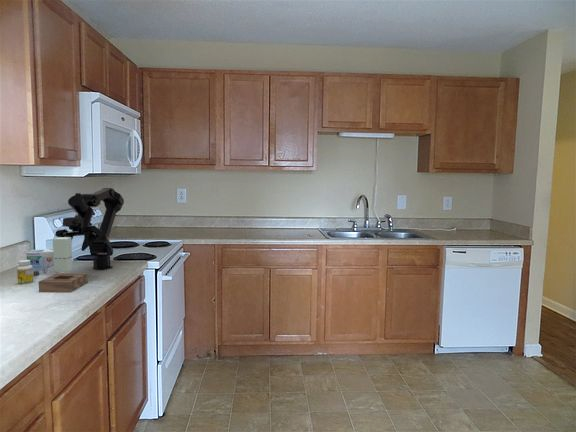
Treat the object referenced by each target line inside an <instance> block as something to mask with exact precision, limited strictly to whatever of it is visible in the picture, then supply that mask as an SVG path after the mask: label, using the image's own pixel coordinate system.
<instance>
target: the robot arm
mask: <svg viewBox="0 0 576 432" xmlns="http://www.w3.org/2000/svg"><path fill="white" fill-rule="evenodd" d="M101 202H103V204H104V207H105V212H104V213H103V218H102V221H101V224H100V226H99V227H97V226H96V225H93V223H92V222H91V221H92V217H93V216H96V213H95V211H94V209H93V208H96V207H99V206H100V205H101ZM124 203H125V198H123V196H122V194H121V193H118V191H116V190H115V188H112V187H103V188H101V189H100V190H97V191H95V192H93V193H80V192H78V193H77V192H76V193H75V194H74V195H73V196H71V197H70V198H69V199H68V200H67V204H68V205H69V207H70V208H71V209H72V210H73V211H74V212H75V213H76V214H77V215H74V216H73V217H72V216H71V217H64V218H62V227H67V228H68V230H67V229H66V228H64V229H58V230H56V231H55V234H54V236H55V237H56V238H58V237H71V243H72V242H73V239H74V237H78V236H80V237H81V236H84V237H83V241H82V245H81V251H82V252H84V251H85V250H86V249H89V253H90V256H92V257H93V260H92V261H93V266H92V267H91V268H92V269H94V270H100V271H101V270H106V269H111V268H113V266H112V265H111V256H113V255H114V249H113V246H112V245H111V240H110V234H111V231H112V228H113V224H114V222H115V218H116V215H117V213H118V212H120V211H121V210H122V208H123V205H124ZM69 230H71V231H69Z"/></svg>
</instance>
